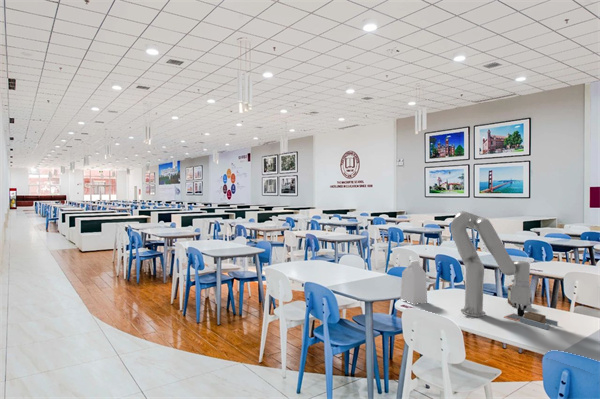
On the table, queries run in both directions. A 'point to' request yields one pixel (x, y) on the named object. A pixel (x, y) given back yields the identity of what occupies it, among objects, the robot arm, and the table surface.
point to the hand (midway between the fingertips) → (520, 315)
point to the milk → (414, 284)
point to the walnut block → (535, 317)
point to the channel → (538, 324)
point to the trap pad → (513, 317)
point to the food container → (509, 297)
